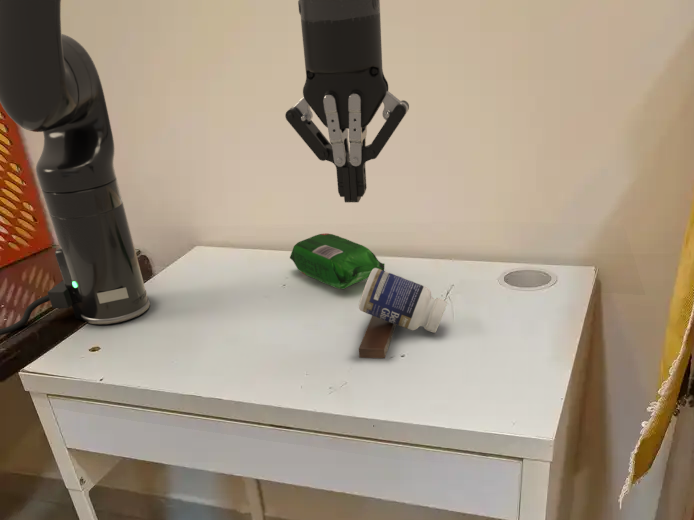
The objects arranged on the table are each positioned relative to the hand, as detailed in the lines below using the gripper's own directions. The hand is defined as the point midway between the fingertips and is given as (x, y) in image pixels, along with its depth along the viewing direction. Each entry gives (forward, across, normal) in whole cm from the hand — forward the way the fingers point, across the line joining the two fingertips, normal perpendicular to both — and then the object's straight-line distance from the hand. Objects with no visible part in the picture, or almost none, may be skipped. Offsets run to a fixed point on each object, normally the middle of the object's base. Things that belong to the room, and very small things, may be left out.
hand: (352, 200), depth 78 cm
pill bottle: (+11, 0, -3) cm, 11 cm away
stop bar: (+16, -2, -1) cm, 17 cm away
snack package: (+17, +8, -19) cm, 26 cm away
